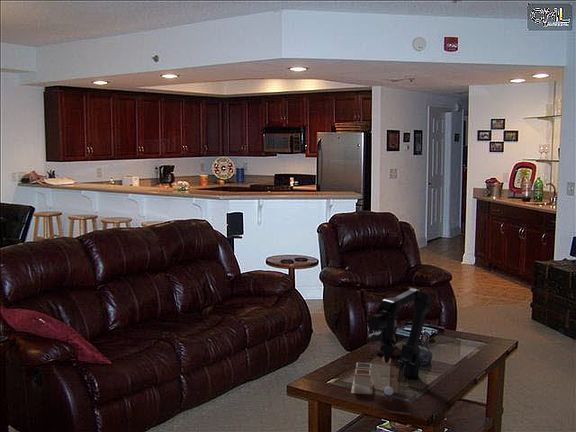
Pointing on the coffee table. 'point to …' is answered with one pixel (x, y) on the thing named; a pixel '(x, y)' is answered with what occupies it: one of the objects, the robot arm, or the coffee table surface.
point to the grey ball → (388, 390)
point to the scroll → (397, 348)
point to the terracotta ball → (384, 360)
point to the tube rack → (362, 379)
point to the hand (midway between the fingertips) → (386, 361)
